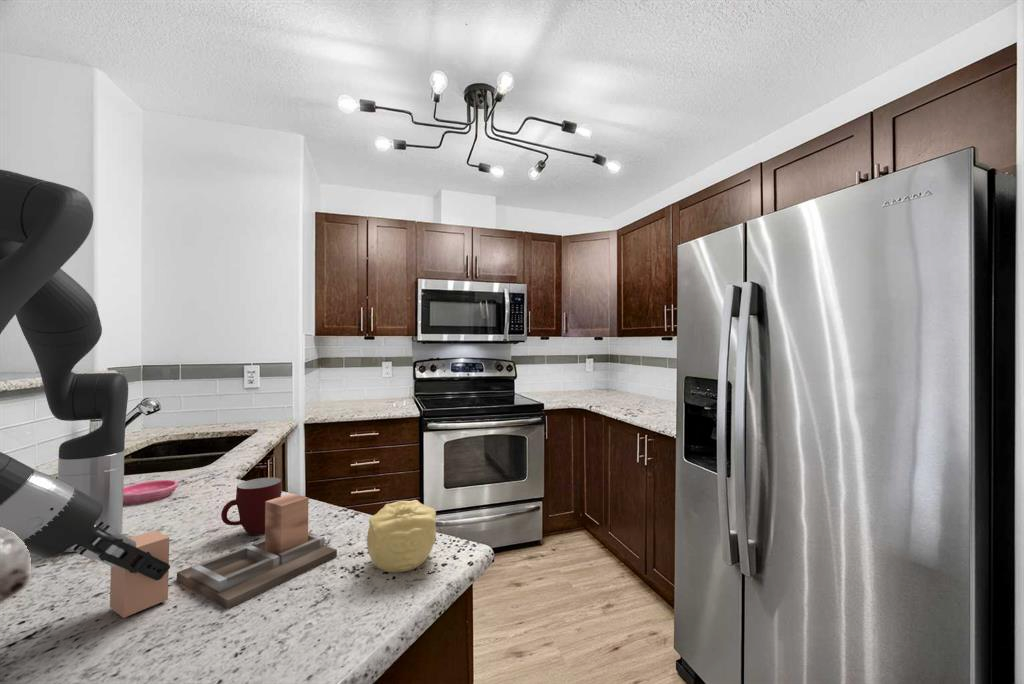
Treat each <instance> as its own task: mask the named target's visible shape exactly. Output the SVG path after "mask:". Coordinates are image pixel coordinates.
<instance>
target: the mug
mask: <svg viewBox="0 0 1024 684" xmlns="http://www.w3.org/2000/svg"><path fill="white" fill-rule="evenodd" d="M282 482H283V481H282V479H281V478H280V477H260V478H254V479H250V480H246V481H242V482H241V483H238V484H236V485H237V486H236V493H235V499H232V500H230V501H228V502H227V503H226V504H225V505H224V506H223V508H222V510H221V514H220V516H221V517H220V519H221V520H222V522H223V523H224V524H225V525H228V526H242V528H243V530H245V532H246V534H247V535H248V536H260V535H263V534H264V535H265V501H269V500H272V499H275V498H279V497H282V492H283V491H282V488H283V487H282V486H283V484H282ZM233 506H237V510H238V516H239V520H235V521H232V520H230V519H229V518H228V513H229V510H230V509H231V508H233Z"/></svg>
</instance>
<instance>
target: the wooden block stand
mask: <svg viewBox="0 0 1024 684" xmlns="http://www.w3.org/2000/svg"><path fill="white" fill-rule="evenodd" d="M325 544H326V543H325V537H324V536H323V535H318V534H316V533H312V532H309V497H307V496H304V495H300V494H296V493H289V494H285V495H283V496H282V495H281V497H279V498H275V499H272V500H269V501H265V533H264V538H263V539H262V540H258V541H256V542H254V543H251V544H248V545H245V546H243V547H241V548H237V549H235V550H232V551H229V552H227V553H223V554H221V555H219V556H216V557H213V558H211V559H208V560H206V561H202V562H201V563H197V564H195V565H192V566H190V567H187V568H185V569H182V570H179V571H177V572H176V581H177V582H179V583H181V584H182V585H185V586H186V587H188V588H190V589H192V590H193V591H195V592H197V593H199V594H200V595H203V596H204V597H206V598H208V599H210V600H211V601H212V602H214V603H216V604H218V605H220V606H221V607H223V608H225V609H227V610H229V609H231V608H232V607H233V608H234V607H235V606H238V605H239V604H241V603H243V602H245V601H247V600H249V599H252V598H254V597H256V596H258V595H260V594H262V593H265V592H266V591H268V590H270V589H272V588H274V587H277V586H278V585H280V584H283V583H285V582H286V581H289V580H291V579H293V578H295V577H298V576H299V575H302V574H303V573H306V572H308V571H310V570H312V569H314V568H316V567H319V566H320V565H322V564H324V563H327V562H329V561H331V560H333V559H335V558H337V557H338V550H337V549H336V548H333V547H330V546H327V545H325Z"/></svg>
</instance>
